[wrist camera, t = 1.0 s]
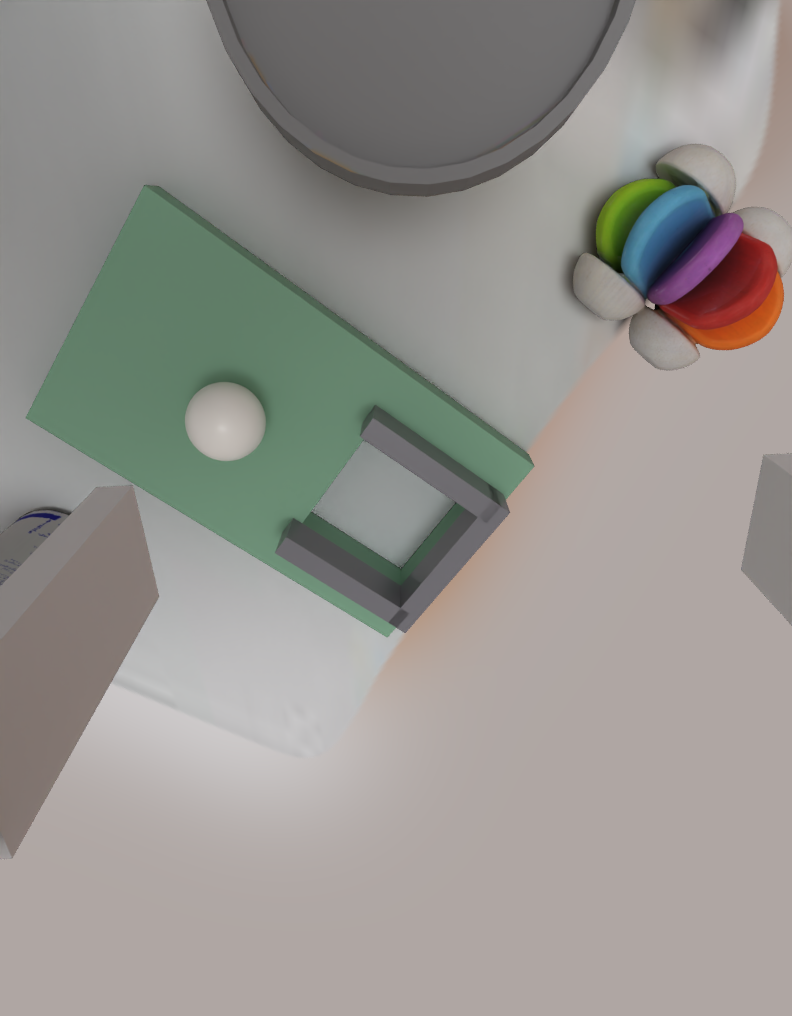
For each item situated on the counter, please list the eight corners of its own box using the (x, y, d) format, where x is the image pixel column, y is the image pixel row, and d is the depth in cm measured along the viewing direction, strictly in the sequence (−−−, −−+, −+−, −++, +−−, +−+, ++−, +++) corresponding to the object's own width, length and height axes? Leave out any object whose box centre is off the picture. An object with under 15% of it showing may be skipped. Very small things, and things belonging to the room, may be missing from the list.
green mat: (43, 407, 39) (25, 417, 37) (158, 186, 34) (144, 185, 32) (388, 619, 44) (387, 637, 42) (528, 454, 39) (534, 466, 37)
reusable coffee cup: (227, -28, 30) (80, -221, 17) (488, -191, 28) (568, -573, 14) (355, 244, 35) (322, 269, 21) (588, 123, 32) (722, 62, 19)
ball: (184, 418, 37) (159, 442, 33) (221, 358, 35) (199, 376, 32) (248, 460, 38) (231, 487, 34) (286, 402, 36) (272, 424, 33)
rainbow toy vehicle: (667, 382, 38) (723, 420, 31) (540, 266, 35) (571, 280, 29) (792, 255, 35) (883, 267, 28) (663, 120, 33) (729, 98, 26)
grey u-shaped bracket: (282, 533, 39) (274, 553, 37) (375, 404, 36) (373, 418, 34) (405, 609, 41) (405, 633, 39) (503, 494, 38) (509, 512, 36)
